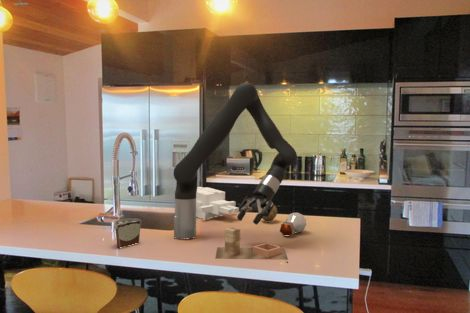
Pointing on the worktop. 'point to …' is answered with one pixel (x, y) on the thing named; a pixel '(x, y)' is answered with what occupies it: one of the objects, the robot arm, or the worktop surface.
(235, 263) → the worktop surface
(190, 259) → the worktop surface
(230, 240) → the tan tall block
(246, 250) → the walnut board
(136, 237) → the food container
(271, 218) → the natural sponge
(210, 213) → the blocky voxel creature
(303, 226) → the potion bottle
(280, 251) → the square tan tray
